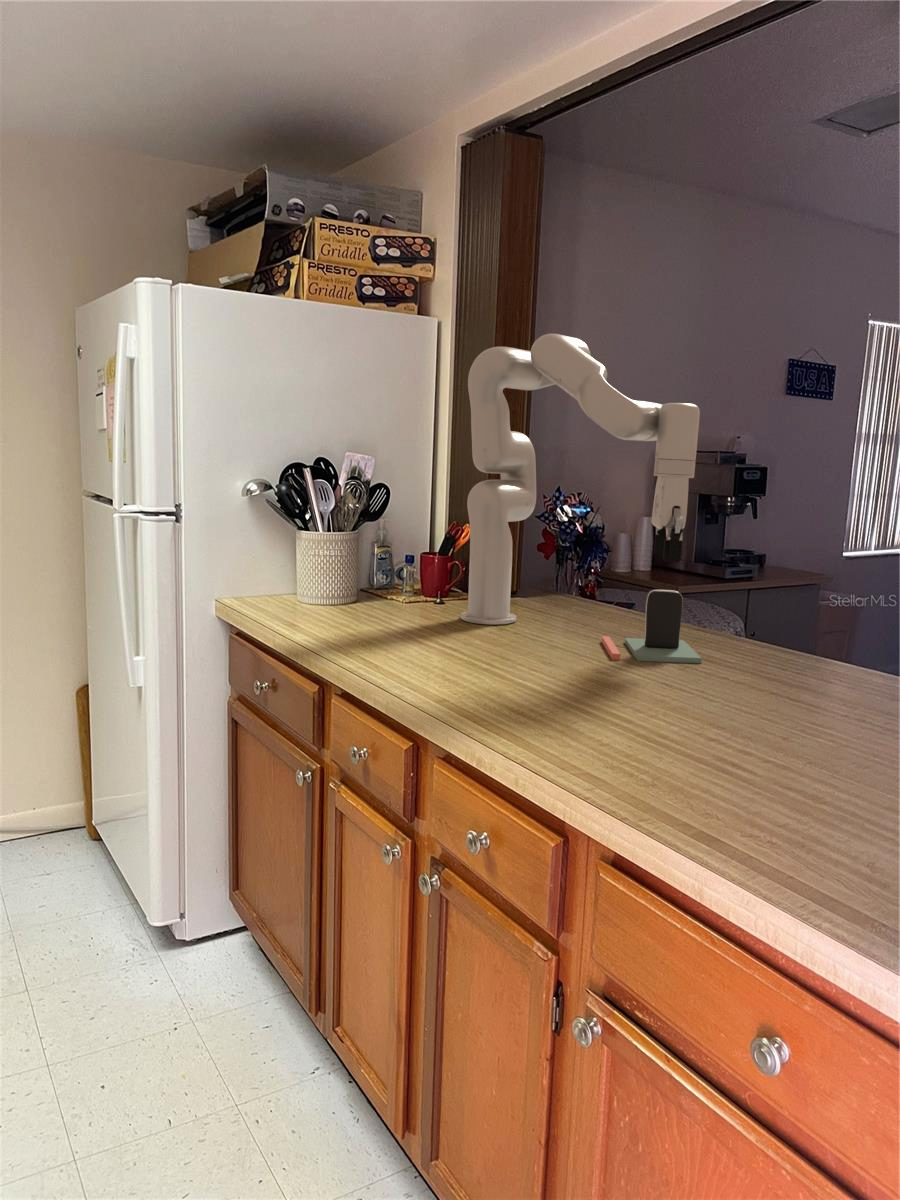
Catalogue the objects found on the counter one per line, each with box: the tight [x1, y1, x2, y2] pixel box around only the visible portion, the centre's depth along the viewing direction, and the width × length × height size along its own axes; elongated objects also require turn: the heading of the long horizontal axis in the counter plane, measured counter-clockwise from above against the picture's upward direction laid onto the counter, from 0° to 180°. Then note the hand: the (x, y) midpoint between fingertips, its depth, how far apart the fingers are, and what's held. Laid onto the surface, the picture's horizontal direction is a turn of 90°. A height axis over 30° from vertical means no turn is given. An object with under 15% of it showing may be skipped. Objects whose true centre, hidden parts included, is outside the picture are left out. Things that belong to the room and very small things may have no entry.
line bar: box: [601, 635, 621, 661], centre depth 181 cm, size 16×2×1 cm, turn 178°
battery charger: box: [644, 588, 684, 648], centre depth 181 cm, size 7×4×11 cm, turn 86°
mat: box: [624, 637, 703, 664], centre depth 181 cm, size 16×12×1 cm
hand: (666, 558), depth 178 cm, fingers open, 9 cm apart
